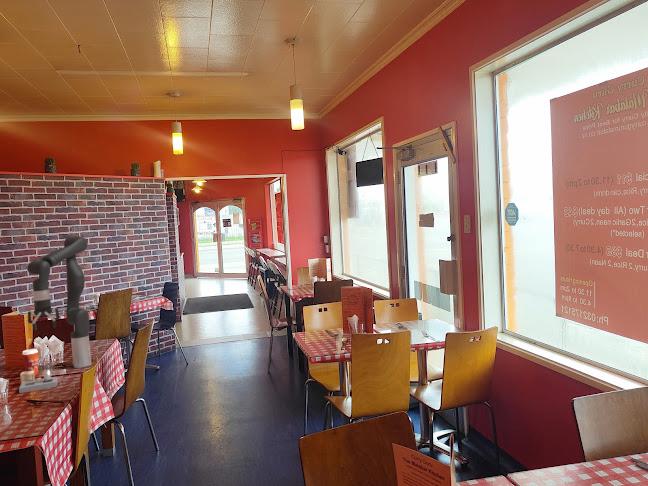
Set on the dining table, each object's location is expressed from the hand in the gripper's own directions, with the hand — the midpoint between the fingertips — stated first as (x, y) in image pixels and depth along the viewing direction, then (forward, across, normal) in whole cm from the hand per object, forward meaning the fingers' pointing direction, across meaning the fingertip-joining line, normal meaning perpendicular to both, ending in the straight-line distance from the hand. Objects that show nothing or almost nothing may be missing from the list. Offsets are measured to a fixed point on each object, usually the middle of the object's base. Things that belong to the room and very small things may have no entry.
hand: (44, 329), depth 256 cm
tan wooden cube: (+28, +10, -2) cm, 30 cm away
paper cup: (+28, +10, -19) cm, 35 cm away
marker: (+28, +6, -8) cm, 30 cm away
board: (+28, +4, +8) cm, 29 cm away
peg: (+28, 0, +8) cm, 29 cm away
